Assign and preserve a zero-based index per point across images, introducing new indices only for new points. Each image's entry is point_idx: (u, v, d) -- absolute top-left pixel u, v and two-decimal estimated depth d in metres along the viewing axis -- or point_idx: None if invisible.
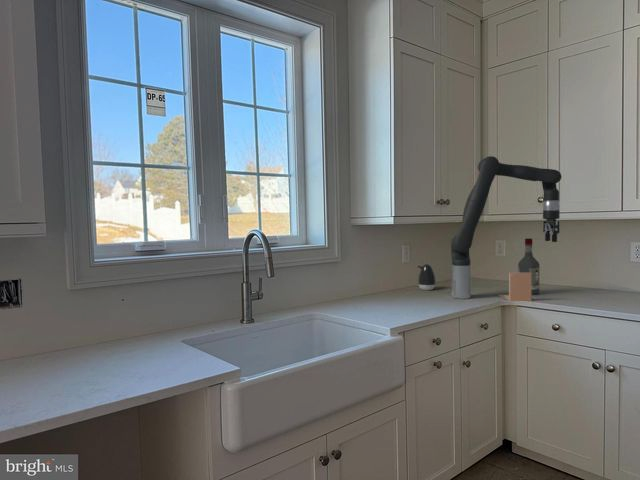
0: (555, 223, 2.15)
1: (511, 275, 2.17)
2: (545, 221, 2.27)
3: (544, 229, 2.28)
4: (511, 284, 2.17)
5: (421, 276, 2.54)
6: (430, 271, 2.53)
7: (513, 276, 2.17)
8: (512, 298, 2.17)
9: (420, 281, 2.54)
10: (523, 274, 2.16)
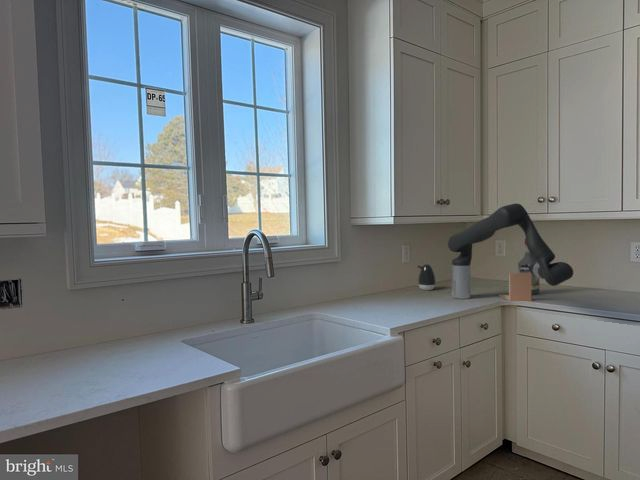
0: None
1: (511, 275, 2.17)
2: None
3: None
4: (511, 284, 2.17)
5: (421, 276, 2.54)
6: (430, 271, 2.53)
7: (513, 276, 2.17)
8: (512, 298, 2.17)
9: (420, 281, 2.54)
10: (523, 274, 2.16)
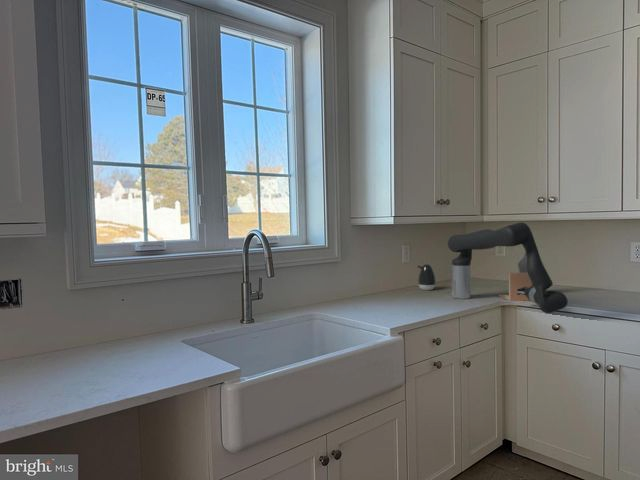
0: None
1: (511, 275, 2.17)
2: None
3: None
4: (511, 284, 2.17)
5: (421, 276, 2.54)
6: (430, 271, 2.53)
7: (513, 276, 2.17)
8: (512, 298, 2.17)
9: (420, 281, 2.54)
10: (523, 274, 2.16)
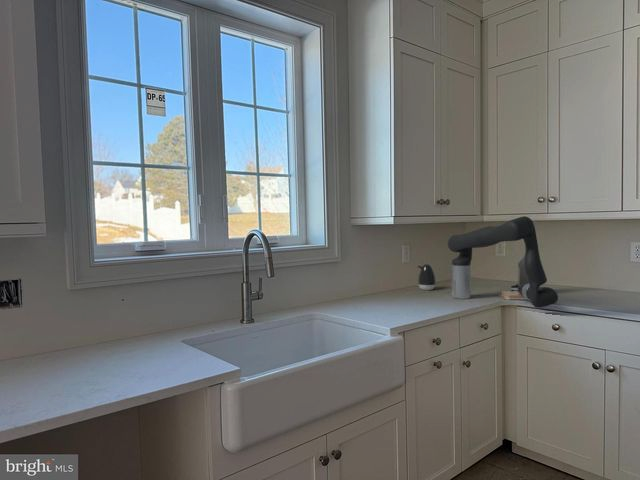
0: None
1: (503, 291, 2.32)
2: None
3: None
4: (505, 292, 2.28)
5: (421, 276, 2.54)
6: (430, 271, 2.53)
7: (505, 291, 2.31)
8: (510, 295, 2.21)
9: (420, 281, 2.54)
10: (513, 291, 2.32)
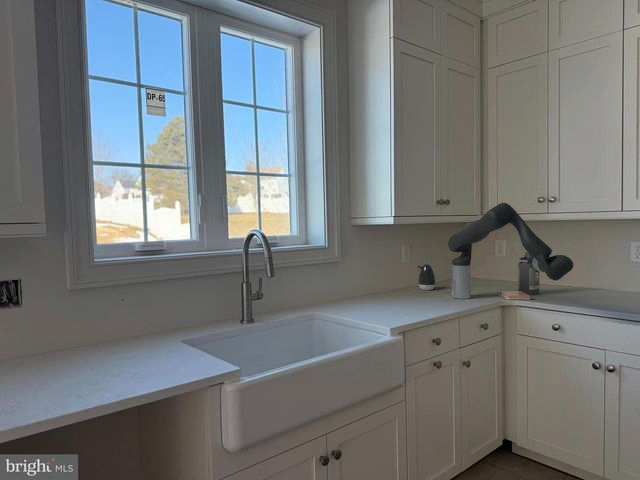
0: None
1: (503, 291, 2.32)
2: None
3: None
4: (505, 292, 2.28)
5: (421, 276, 2.54)
6: (430, 271, 2.53)
7: (505, 291, 2.31)
8: (510, 295, 2.21)
9: (420, 281, 2.54)
10: (513, 291, 2.32)
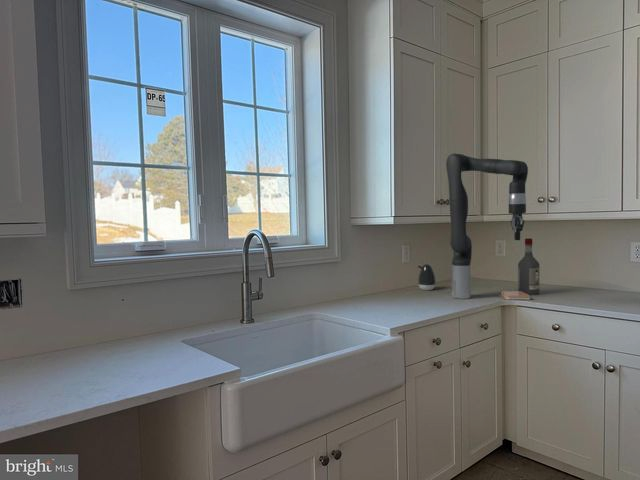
0: None
1: (503, 291, 2.32)
2: (522, 220, 1.99)
3: (521, 227, 2.02)
4: (505, 292, 2.28)
5: (421, 276, 2.54)
6: (430, 271, 2.53)
7: (505, 291, 2.31)
8: (510, 295, 2.21)
9: (420, 281, 2.54)
10: (513, 291, 2.32)
